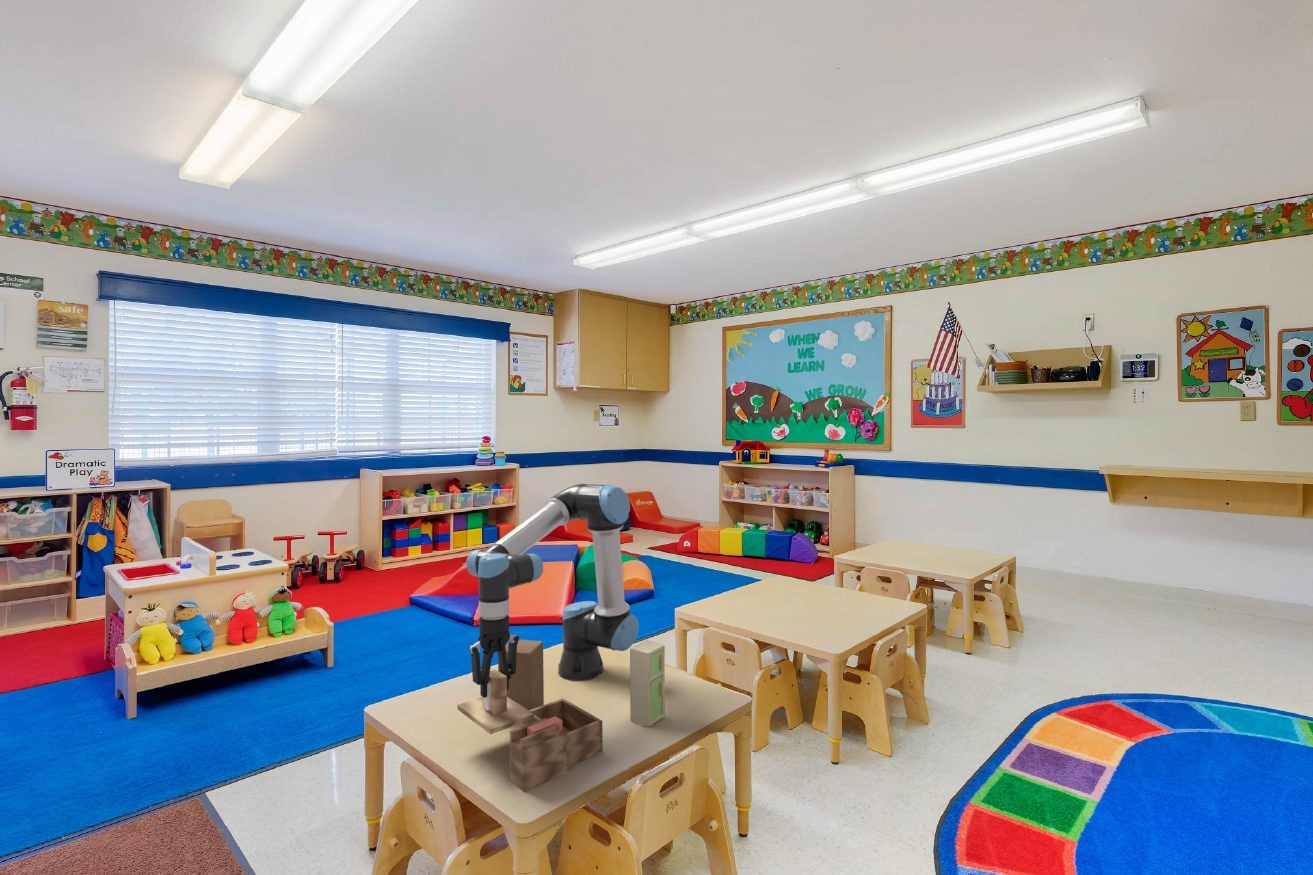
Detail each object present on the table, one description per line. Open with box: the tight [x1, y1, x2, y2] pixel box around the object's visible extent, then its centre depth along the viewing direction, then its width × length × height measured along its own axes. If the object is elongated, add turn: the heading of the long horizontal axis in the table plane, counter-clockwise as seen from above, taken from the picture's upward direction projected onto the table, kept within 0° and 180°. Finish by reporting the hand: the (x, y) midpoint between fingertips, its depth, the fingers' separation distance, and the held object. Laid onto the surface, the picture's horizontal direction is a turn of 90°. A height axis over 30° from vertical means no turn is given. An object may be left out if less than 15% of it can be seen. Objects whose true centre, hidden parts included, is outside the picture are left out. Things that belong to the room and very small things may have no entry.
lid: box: [457, 669, 534, 735], centre depth 162 cm, size 12×18×10 cm, turn 42°
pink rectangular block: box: [527, 716, 562, 736], centre depth 152 cm, size 8×3×2 cm, turn 132°
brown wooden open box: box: [509, 697, 604, 792], centre depth 160 cm, size 24×20×12 cm
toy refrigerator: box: [629, 640, 666, 728], centre depth 179 cm, size 8×7×21 cm
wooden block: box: [497, 639, 545, 710], centre depth 183 cm, size 10×10×20 cm
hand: (494, 705), depth 162 cm, fingers closed on lid, 3 cm apart
